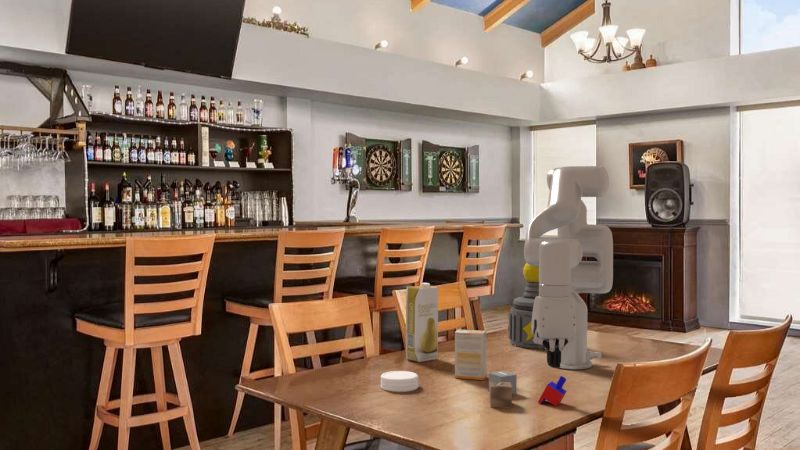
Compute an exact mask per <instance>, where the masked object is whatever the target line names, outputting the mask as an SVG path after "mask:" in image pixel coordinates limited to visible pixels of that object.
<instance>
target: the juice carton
mask: <svg viewBox="0 0 800 450" xmlns="http://www.w3.org/2000/svg"><path fill="white" fill-rule="evenodd" d="M405 298H406V299H405V301H406V302H405V308H406V309H405V357H406V360H407V361H408V360H409V361H411V362H412V361H413V362H417V363H423V362H429V361H435V360H437V359H438V356H439V355H438V352H439V350H438V349H439V287H438V286H435V285H431V284H430V283H429V282H421V285H418V286H406V295H405Z"/></svg>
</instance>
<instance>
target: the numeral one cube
mask: <svg viewBox="0 0 800 450" xmlns="http://www.w3.org/2000/svg"><path fill="white" fill-rule="evenodd" d="M517 375H518V374H516V373H514V372H513V373H512V372H510V371H506V370H499V371H498V370H497V371H493V372H488V392H489V391H490V382H510V383H511V386H512V395H516V394H517V380H518V379H517V378H518V377H517Z"/></svg>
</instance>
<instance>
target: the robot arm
mask: <svg viewBox="0 0 800 450" xmlns="http://www.w3.org/2000/svg"><path fill="white" fill-rule="evenodd" d="M546 182H547V187H548V190H549V193H548V194H549V195H548V202H547V207H546V208H544V209H542V211H540V212H539V213H538V214H536V216H535V217H533V218H532V220H531V222H530V223H529V225H528V227H527V229H526V234H525V241H524V247H523V257H524V260H525V263H527V264H529V265H530V266H534V267H539V296H536V297H535V301H534V306H533V313H532V324H531V332H532V335H534V339H533V342H534V343H537V344H541V345H543V346H544V347H545V349H544V350H546V363H547V366H549V367H551V368H553V369H556V368H557V369H564V370H586V369H590V368H592V367H593V362H592V360H593V359H596V360H597V359H601V358H602V356H603V355H602V352H601V351H590V350H588V306H587V304H586V302H585V301H584V299H583V298H582V297H581V296H580V295H579V294H607V293H609V292H610V291H611V290H612V288H613V283H614V282H613V281H614V240H613V238H614V237H613V233H612V230H611V229H610V228H609V226H608V225H603V224H588V222H587V220H588V219H587V216H588V213H587V212H588V209H587V206H586V204H585V203H584V201H583V200H582V198H602V197H604V196H605V195H606V193H607V192H608V189H609V186H610V185H609V184H610V177H609V172H608V171H607V168H605V167H604V166H598V165H597V166H596V165H590V166H589V165H584V166H583V165H582V166H581V165H580V166H579V165H578V166H573V165H572V166H561V167H555V168H552V169H550V170H549V171H548V172H547V174H546ZM554 230H557V237H551V236H550V237H545V236H544V237H543V235H545V234H546V233H548V232H550V231H554ZM583 257H586V258H587V257H591V258H592V257H593V258H595V259H596V260H597V261H596V260H595V261H592V260H591V261H590V260H582V259H583ZM553 339H555V340H553Z"/></svg>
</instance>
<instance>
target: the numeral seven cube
mask: <svg viewBox="0 0 800 450" xmlns="http://www.w3.org/2000/svg"><path fill="white" fill-rule="evenodd" d="M488 392H489V393H488V394H489V398H488V399H489V400H488V402H489V405H490V406H489V407H490V408H494V407H511V408H510V409H512V408H513V394H512V386H511V383H510V382H490V391H489V390H488Z"/></svg>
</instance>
